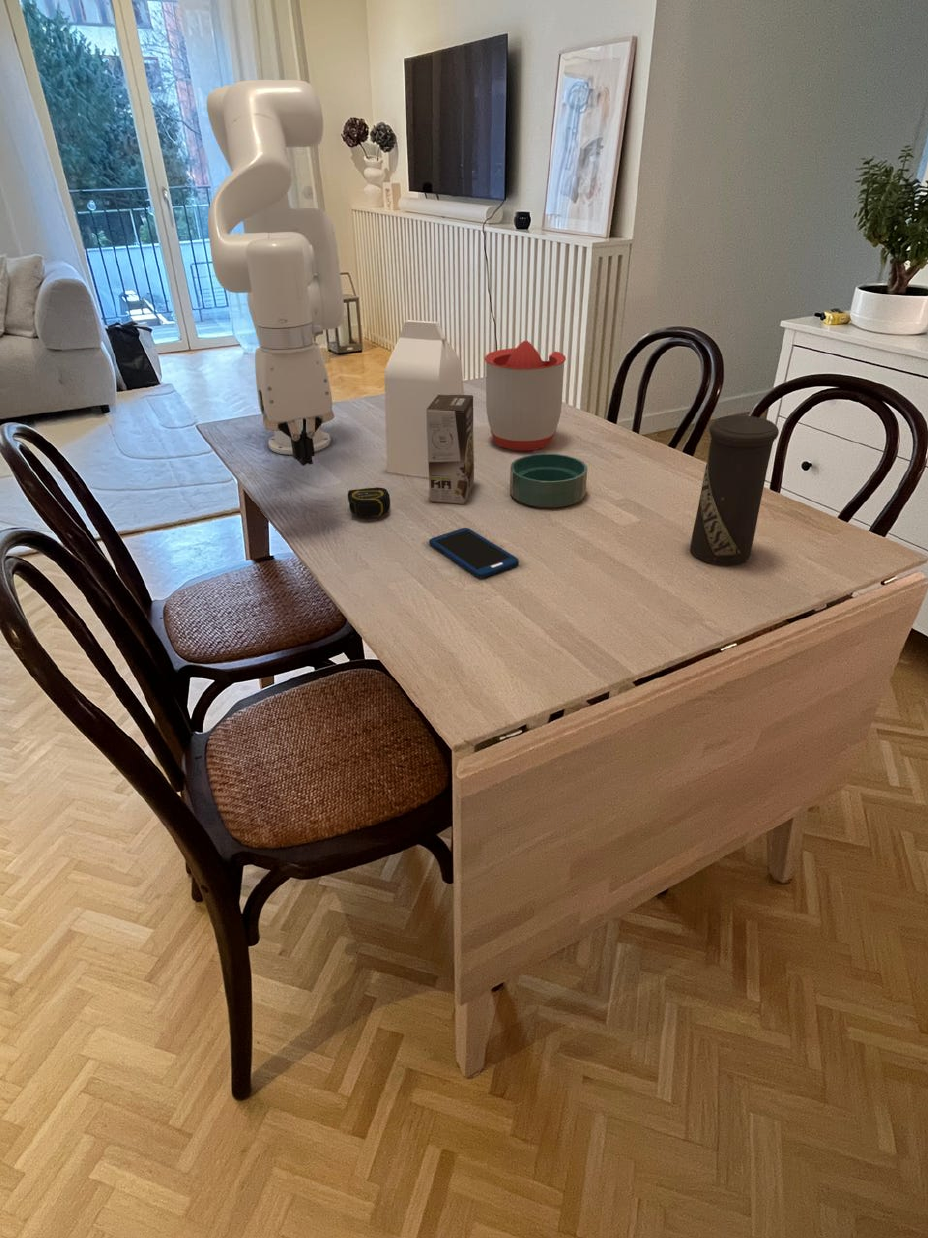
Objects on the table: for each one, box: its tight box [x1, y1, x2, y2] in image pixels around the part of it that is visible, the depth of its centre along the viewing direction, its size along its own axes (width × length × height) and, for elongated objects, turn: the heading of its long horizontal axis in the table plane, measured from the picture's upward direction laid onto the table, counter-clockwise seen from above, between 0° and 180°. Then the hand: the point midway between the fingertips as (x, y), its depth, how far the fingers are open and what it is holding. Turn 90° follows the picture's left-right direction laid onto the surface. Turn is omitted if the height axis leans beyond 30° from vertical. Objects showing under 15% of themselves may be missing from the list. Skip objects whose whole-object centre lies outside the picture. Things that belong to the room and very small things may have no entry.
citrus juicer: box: [484, 340, 567, 452], centre depth 144 cm, size 16×17×20 cm
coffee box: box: [426, 394, 475, 505], centre depth 124 cm, size 9×6×16 cm
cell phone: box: [428, 527, 520, 579], centre depth 108 cm, size 7×14×1 cm, turn 35°
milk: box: [384, 319, 465, 479], centre depth 132 cm, size 12×12×26 cm
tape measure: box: [347, 487, 391, 519], centre depth 120 cm, size 7×7×4 cm
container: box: [689, 414, 780, 566], centre depth 102 cm, size 9×9×20 cm
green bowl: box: [509, 453, 588, 508], centre depth 125 cm, size 13×13×5 cm
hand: (305, 462), depth 112 cm, fingers closed
